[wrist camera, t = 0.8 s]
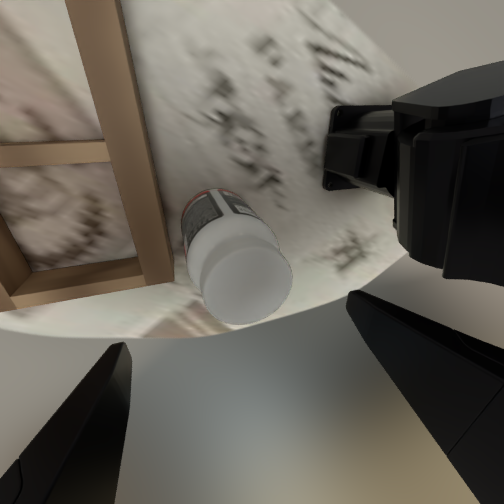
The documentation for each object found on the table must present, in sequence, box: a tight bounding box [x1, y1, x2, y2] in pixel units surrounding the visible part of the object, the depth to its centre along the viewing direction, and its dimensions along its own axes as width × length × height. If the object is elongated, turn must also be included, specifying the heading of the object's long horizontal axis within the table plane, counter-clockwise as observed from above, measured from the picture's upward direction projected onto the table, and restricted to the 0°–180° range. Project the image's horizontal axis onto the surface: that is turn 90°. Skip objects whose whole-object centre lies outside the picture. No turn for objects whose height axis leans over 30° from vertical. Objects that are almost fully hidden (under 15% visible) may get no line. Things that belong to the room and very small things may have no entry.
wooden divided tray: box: [0, 0, 174, 312], centre depth 14 cm, size 12×18×3 cm, turn 1°
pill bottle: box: [181, 189, 292, 325], centre depth 16 cm, size 6×6×10 cm
